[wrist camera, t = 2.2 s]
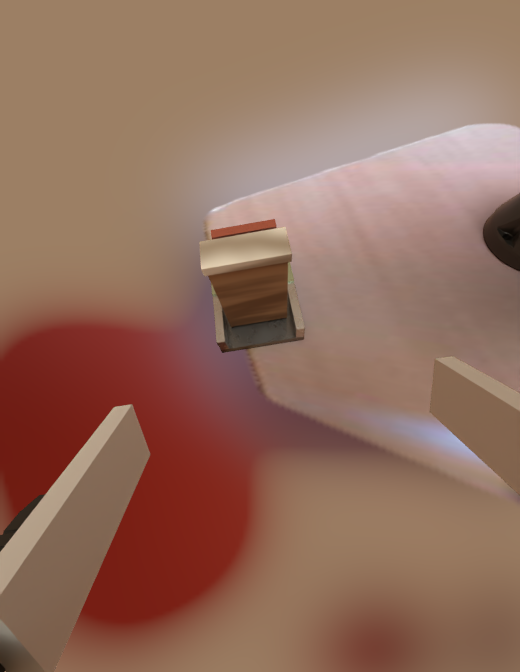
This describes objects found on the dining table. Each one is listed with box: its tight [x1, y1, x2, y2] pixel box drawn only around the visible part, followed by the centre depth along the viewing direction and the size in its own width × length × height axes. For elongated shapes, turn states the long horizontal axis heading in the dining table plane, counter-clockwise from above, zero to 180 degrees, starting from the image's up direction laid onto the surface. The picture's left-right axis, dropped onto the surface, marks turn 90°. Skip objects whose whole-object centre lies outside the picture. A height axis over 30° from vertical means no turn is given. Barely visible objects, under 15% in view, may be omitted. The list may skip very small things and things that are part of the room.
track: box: [211, 219, 305, 353], centre depth 42 cm, size 19×13×7 cm
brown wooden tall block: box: [200, 227, 292, 327], centre depth 35 cm, size 4×10×15 cm, turn 98°
